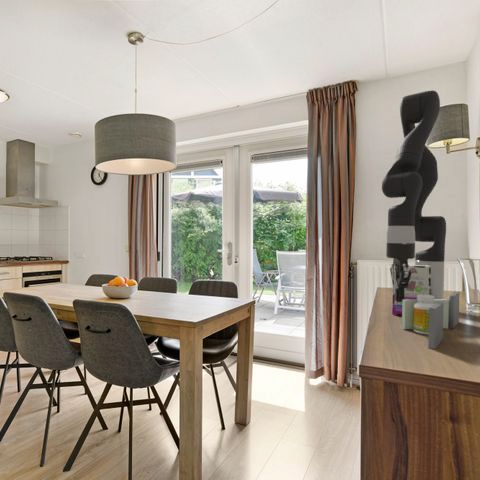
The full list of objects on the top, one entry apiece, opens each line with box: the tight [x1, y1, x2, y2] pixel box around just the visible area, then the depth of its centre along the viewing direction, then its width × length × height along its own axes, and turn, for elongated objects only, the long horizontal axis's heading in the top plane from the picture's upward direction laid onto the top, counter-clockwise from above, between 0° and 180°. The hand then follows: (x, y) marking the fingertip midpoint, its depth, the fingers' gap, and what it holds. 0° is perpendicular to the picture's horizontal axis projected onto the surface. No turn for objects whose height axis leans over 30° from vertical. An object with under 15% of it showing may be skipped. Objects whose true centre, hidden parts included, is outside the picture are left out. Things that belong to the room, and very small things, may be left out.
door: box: [401, 298, 449, 330], centre depth 96 cm, size 13×1×8 cm, turn 99°
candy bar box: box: [391, 264, 431, 317], centre depth 114 cm, size 11×5×16 cm, turn 68°
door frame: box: [427, 291, 460, 350], centre depth 92 cm, size 36×2×9 cm, turn 141°
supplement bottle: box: [413, 294, 435, 336], centre depth 93 cm, size 5×5×10 cm
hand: (399, 301), depth 102 cm, fingers closed
